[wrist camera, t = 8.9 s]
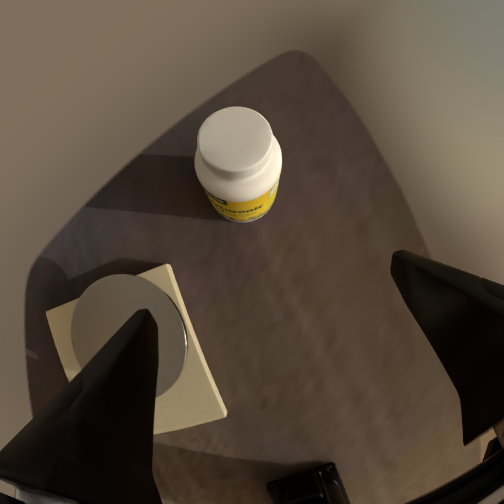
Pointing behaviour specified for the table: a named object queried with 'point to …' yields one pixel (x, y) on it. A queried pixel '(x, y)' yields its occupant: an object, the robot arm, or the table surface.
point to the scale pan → (119, 311)
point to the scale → (188, 384)
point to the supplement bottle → (238, 163)
